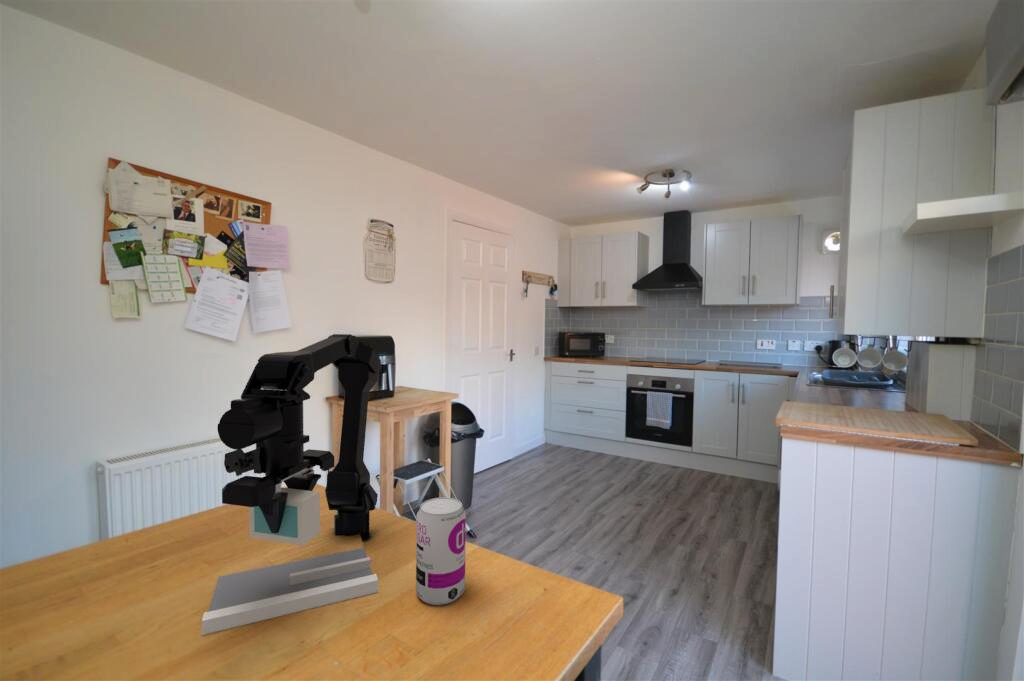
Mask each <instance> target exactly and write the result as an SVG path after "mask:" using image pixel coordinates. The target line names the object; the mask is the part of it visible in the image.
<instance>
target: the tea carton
mask: <svg viewBox="0 0 1024 681" xmlns="http://www.w3.org/2000/svg"><path fill="white" fill-rule="evenodd" d="M281 492H285V493H288V497H287V501H286V505H285V510H284V514H283V518H282V523H281V526H280V529H279V532H278V533H272V532H271V531H270V529H269V526H268V524H267V522H266V520H265V518H264V515H263V513H262V511H261V510H260V508H259V506H256V507H248V512H249V513H248V517H249V519H248V520H249V528H248V529H249V538H250V539H257V540H263V541H270V542H278V543H285V544H289V545H298V546H305V545H306V544H307V543H309V542H310V541H312V540H313V539H315V538H316V537H318V536H319V535H320V534H321V522H320V521H321V520H320V519H321V514H320V512H321V511H320V510H321V500H320V496H321V494H320V491H317V490H316V491H315V490H312V491H307V490H298V489H290V488H288V487H281Z"/></svg>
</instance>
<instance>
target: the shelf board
mask: <svg viewBox="0 0 1024 681" xmlns="http://www.w3.org/2000/svg"><path fill="white" fill-rule="evenodd" d="M377 593H379V579H378V576H377V573H373V572H372V568H371V557H370V556H368V555H367V552H366V549H365V547H360V548H356V549H350V550H345V551H339V552H335V553H330V554H326V555H324V554H323V555H321V556H314V557H310V558H305V559H299V560H296V561H290V562H285V563H280V564H276V565H269V566H265V567H259V568H255V569H249V570H245V571H239V572H236V573H235V572H234V573H229V574H225V575H218V579H217V582H216V586H215V589H214V591H213V595H212V599H211V602H210V606H209V610H208V611H206V612H203V616H202V619H201V636H205V635H206V636H207V635H209V634H213V633H218V632H222V631H226V630H229V629H234V628H238V627H242V626H246V625H250V624H255V623H257V622H258V623H259V622H262V621H267V620H271V619H275V618H278V617H283V616H286V615H292V614H294V613H299V612H304V611H308V610H311V609H315V608H319V607H324V606H327V605H331V604H335V603H340V602H343V601H344V602H345V601H349V600H352V599H355V598H360V597H364V596H368V595H373V594H377Z"/></svg>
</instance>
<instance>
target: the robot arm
mask: <svg viewBox="0 0 1024 681" xmlns="http://www.w3.org/2000/svg"><path fill="white" fill-rule="evenodd" d="M331 364H332V365H333V366H334V367H335V368H336V370H338V371H337V379H338V382H339V383H340V385H341V387H342V389H343V391H344V397H343V398H344V399H343V410H342V422H341V430H340V432H341V433H340V442H339V443H340V444H339V454H338V462H337V463H336V465H335V455H334V454H333V453H332V452H331V451H330V450H320V449H319V450H318V449H310V448H309V449H306V450H305V448H304V445H305V444H307V443H309V442H310V435H309V434H307V435H306V434H304V401H308V400H310V399H311V395H310V394H309V392H307V391H305V390H304V389H305V388H307V386H308V385H309V384H311V382H313V381H314V380H315V374H316V373H317V372H318V371H320V370H322V369H323V368H326V367H328V366H329V365H331ZM254 366H255V367H254V368H253V370H252V373H251V374H250V376H249V379H248V380H247V383H246V385H245V387H244V389H243V390H242V393H241V395H240V399H238V398H237V399H233V400H231V401H230V409H228V410H227V411H225V412H224V413H223V414H222V415H221V417H220V419H219V422H218V424H217V434H218V436H219V439H220V440H221V442H222V444H223V445H225V446H226V447H227V448H229V449H232V450H233V451H229V452H226V453H224V460H223V462H224V463H223V465H224V468H225V471H226V473H228V474H232V473H235V476H236V477H239V476H242V475H243V474H244V473H247V472H251V471H253V474H259V475H260V474H264V476H263V477H261V476H260V477H259V476H251V475H245V476H242V477H240V478H237V479H235V480H232V481H230V482H227V483H226V484H225V485H224V487H222V488H221V503H222V505H223V504H225V505H231V506H232V505H233V506H241V507H246V508H247V507H248V508H249V507H256V506H259V508H260V510H261V511H262V513H263V515H264V518H265V520H266V522H267V524H268V526H269V529H270V531H271V532H272V533H278V532H279V529H280V526H281V523H282V518H283V514H284V510H285V505H286V501H287V497H288V493H285V492H281V488H282V483H284V485H286V488H290V489H298V490H307V491H314V488H315V486H316V485H317V483H318V481H319V480H320V479H321V478H322V474H321V473H315V469H314V467H317V466H319V469H320V470H321V471H322V472H327V471H328V473H327V474H326V485H325V490H324V492H325V499H326V502H327V505H328V506H327V507H328V510H329V511H336V514H335V515H334V516H333V532H334V536H345V537H352V536H360V539H361V542H362V541H368V540H371V539H372V535H371V533H370V511H374V510H375V509H376V506H377V502H378V493H377V491H375V489H374V487H373V486H372V485H371V473H370V472H369V469H368V467H367V466H366V464H365V461H364V458H365V457H364V454H365V445H366V443H365V442H366V430H367V422H368V420H367V419H368V418H367V417H368V405H369V395H370V392H371V391H372V389H373V388H374V387H375V385H376V383H377V382H378V380H379V373H380V371H381V367H382V361H381V358H380V357H379V355H378V354H377V352H376V351H375V350H374V349H373V348H372V347H370V346H368V345H367V344H366V343H363V342H361V341H360V340H359V339H358V338H357V336H356V335H352V334H348V333H347V334H346V333H345V334H343V333H341V334H339V333H338V334H337V333H336V334H335V333H334V334H332V335H329V336H328V337H327V338H324V339H322V340H319V341H317V342H315V343H312V344H310V345H308V346H305V347H303V348H301V349H298V350H295V351H294V350H293V351H282V352H279V351H278V352H272V353H265V354H263V355H261V356H260V357H259V358H258V360H257V363H256V364H255V365H254ZM252 445H255V449H252V450H248V451H247V452H244V451H243V449H245V448H248V447H251V446H252ZM304 450H305V451H304ZM330 469H332V470H330Z"/></svg>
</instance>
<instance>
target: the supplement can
mask: <svg viewBox="0 0 1024 681" xmlns="http://www.w3.org/2000/svg"><path fill="white" fill-rule="evenodd" d="M466 517H467V514H466V511H465V508H464V507H463V504H462V502H461V501H460V500H459V499H457V498H453V497H448V496H447V497H443V496H442V497H435V498H430V499H427V500H425V501H423V502H421V504H420V506H419V510H418V511H417V513H416V517H415V518H416V520H415V521H416V523H415V524H416V529H415V530H416V531H415V532H416V536H415V538H416V542H415V544H416V546H415V550H416V551H415V552H416V553H415V554H416V555H415V558H416V559H415V560H416V564H415V592H416V593H415V594H416V595H417V596H418V598H419V599H420V600H422V602H424V603H426V604H428V605H433V606H444V605H448V604H451V603H453V602H455V601H457V599H458V598H459V597H460V596H461V595H463V594H464V592H465V588H466V542H467V541H466V539H467V538H466V537H467V536H466V532H467V530H466V529H467V528H466V526H467V521H466V520H467V518H466Z"/></svg>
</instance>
